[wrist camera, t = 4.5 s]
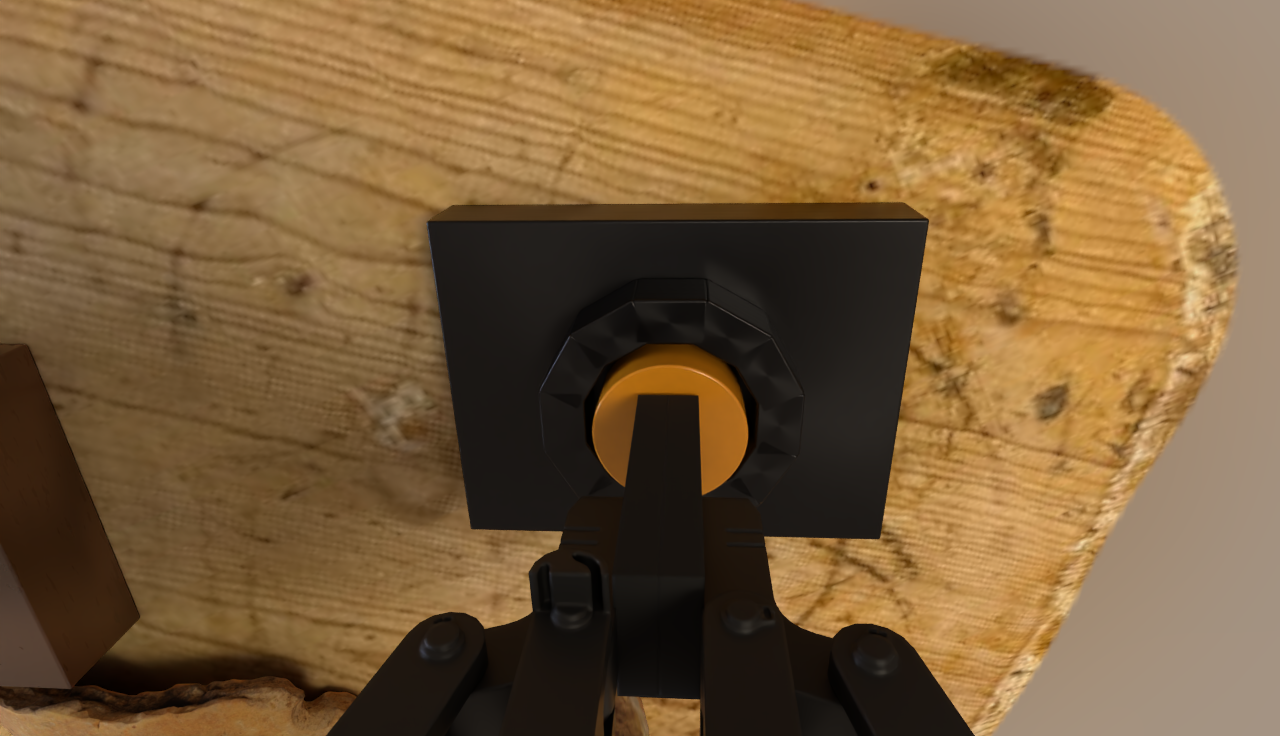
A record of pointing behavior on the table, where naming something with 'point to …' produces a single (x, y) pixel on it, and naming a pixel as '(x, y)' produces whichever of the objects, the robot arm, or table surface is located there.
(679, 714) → the table surface
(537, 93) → the table surface
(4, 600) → the dimmer panel
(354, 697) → the tan bark slab
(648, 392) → the light button
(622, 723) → the oyster shell
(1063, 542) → the table surface
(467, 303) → the button box
